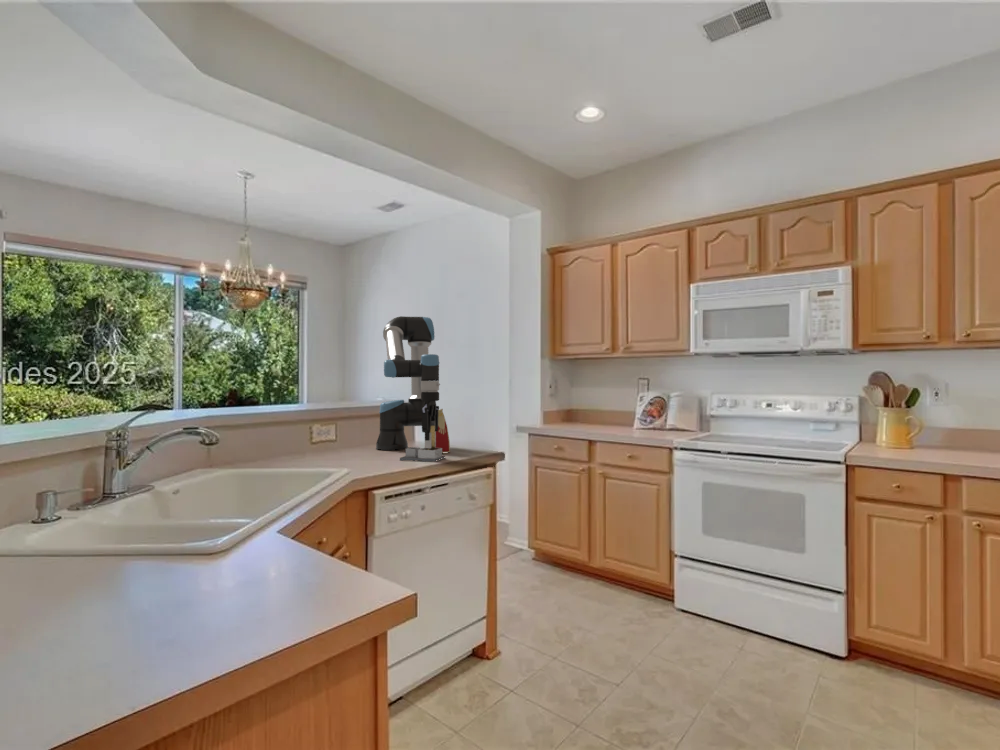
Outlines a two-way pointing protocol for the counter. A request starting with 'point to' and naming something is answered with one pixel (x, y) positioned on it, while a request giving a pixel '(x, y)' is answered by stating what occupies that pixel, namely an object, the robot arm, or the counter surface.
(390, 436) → the robot arm
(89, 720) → the counter surface
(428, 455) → the manifold plate
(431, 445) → the brass valve
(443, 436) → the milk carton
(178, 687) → the counter surface
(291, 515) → the counter surface
